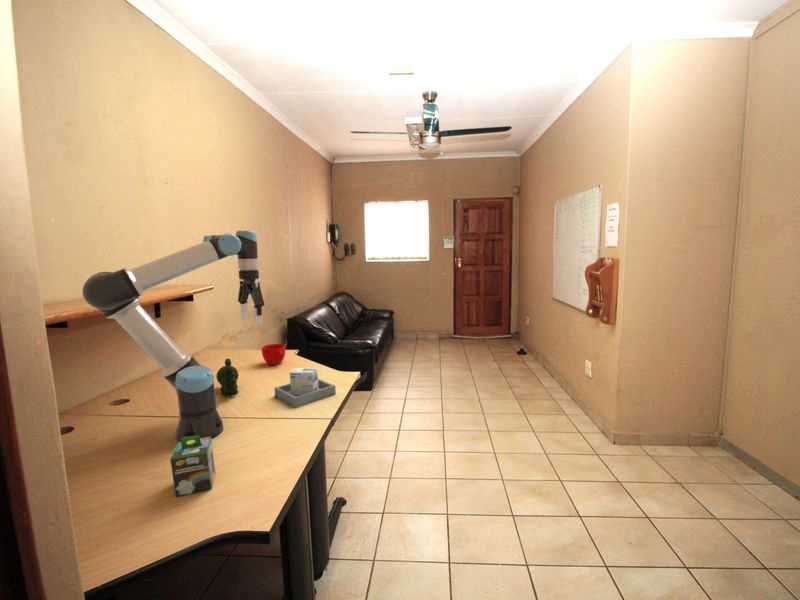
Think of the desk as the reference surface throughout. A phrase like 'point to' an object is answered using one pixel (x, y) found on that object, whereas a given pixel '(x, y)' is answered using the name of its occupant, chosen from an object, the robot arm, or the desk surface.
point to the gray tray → (299, 400)
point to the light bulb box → (303, 380)
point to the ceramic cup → (273, 353)
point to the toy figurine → (228, 379)
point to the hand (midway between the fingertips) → (251, 321)
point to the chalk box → (193, 465)
